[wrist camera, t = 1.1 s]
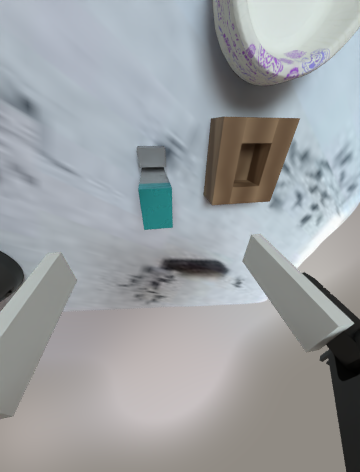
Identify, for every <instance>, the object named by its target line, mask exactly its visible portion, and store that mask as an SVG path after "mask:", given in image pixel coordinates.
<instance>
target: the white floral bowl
mask: <svg viewBox="0 0 360 472" xmlns="http://www.w3.org/2000/svg"><path fill="white" fill-rule="evenodd" d="M213 13H214V23H215V31H216V34H217V38H218V41H219V45H220V48H221V51H222V53H223V54H224V56H225V58H226V60H227V62H228V63H229V65H230V67H231V68H232V70H233V71H234V72H235V73H236V74H237V75H239V76H240V78H241V79H243V80H244V81H246V82H248V83H250V84H253V85H257V86H268V85H273V84H279V83H282V82H285V81H289V80H292V79H294V78H298V77H301V76H304V75H306V74H309V73H311V72H312V71H314V70H316V69H317V68H319V67H320V66H322V65H323V64H324V63H326V62H327V61H328V60H330V59H331V58H332V57H333V56H334V55H335V54H336V53H337V52H338V51H339V50H340V49H341V48H342V47H343V46H344V45H345V44H346V43H347V42H348V41H349V40H350V38H351V37H352V36H353V35H354V34H355V32H356V31H357V30H358V28H359V27H360V0H213Z"/></svg>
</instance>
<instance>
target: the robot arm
mask: <svg viewBox="0 0 360 472" xmlns="http://www.w3.org/2000/svg"><path fill="white" fill-rule="evenodd" d="M243 263H244V264H245V266H246V267H247V269H248V270H249V271H250V273H251V274H252V276H253V277H254V279H255V280H256V281H257V283H258V284H259V286H260V287H261V289H262V290H263V291H264V293H265V294H266V296H267V297H268V299H269V300H270V301H271V303H272V304H273V306H274V307H275V309H276V310H277V311H278V313H279V314H280V316H281V317H282V319H283V320H284V321H285V323H286V324H287V326H288V327H289V329H290V330H291V331H292V333H293V334H294V336H295V337H296V338H297V340H298V341H299V343H300V344H301V346H302V347H303V349H304V350H305V351H306V352H310V351H315V350H319V349H321V348H322V347H323V346H325V345H327V346H328V348H329V350H328V351H326V352H325V353H324V354H322V355H321V356H320V361H322V362H323V361H324V360H326V359H327V358H328V359H329V360H328V361H327V363H326V364H328V365H330V371H331V378H332V384H333V390H334V396H335V403H336V409H337V416H338V422H339V428H340V434H341V441H342V447H343V454H344V460H345V466H346V472H360V319H358V318H357V317H356V316H355V315H354V314H353V313H352V312H351V311H350V310H349V309H347V308H346V307H345V306H344V305H343V304H342V303H341V302H340V301H339V300H338V299H337V298H336V297H334V296H333V295H331V294H330V292H329V291H328V290H326V288H323V286H322V285H321V284H320V283H319V282H318V281H317V280H316V279H315V278H313V277H311V276H310V275H308V274H306V273H301V272H300V271H299V270H298V269H297V268H296V267H295V266H294V265H293V264H292V263H291V262H290V261H288V260H287V259H286V258H285V257H284V256H283V255H282V254H281V253H280V252H279V251H278V250H277V249H276V248H275V247H274V246H273V245H272V244H271V243H270V242H269V241H267V240H266V239H265V238H264V237H263V236H262V235H261V234H254V235H251V237H250V240H249V243H248V246H247V249H246V252H245V255H244V258H243ZM22 281H23V272H22V270H21V268H20V267H19V266H18V264H17V263H16V262H15V261H13V260H12V259H11V258H10V257H8V256H7V255H5V254H3V253H2V252H0V302H1V301H2V300H4V299H5V298H6V297H8V296H9V295H11V294H12V293H13V292H14V291H15V290H16V289H17V288H18V286H19V285H20V284H21V283H22ZM76 282H77V279H76V277H75V276H74V274H73V272H72V270H71V269H70V267H69V265H68V263H67V262H66V260H65V258H64V256H63V255H62V253H61V252H57V253H48V254H47V255H46V256H45V257H44V259H43V260H42V261H41V262H40V264H39V265H38V266H37V267H36V269H35V270H34V271H33V272H32V273H31V275H30V276H29V277H28V278H27V280H26V281H25V282H24V283H23V285H22V286H21V287H20V288H19V290H18V291H17V292H16V293H15V295H14V296H13V297H12V298H11V299H10V301H9V302H8V303H7V304H6V306H5V307H4V308H3V309H2V311H1V312H0V419H2V418H7V417H12V416H14V414H15V411H16V409H17V407H18V405H19V402H20V401H21V399H22V396H23V394H24V392H25V390H26V388H27V386H28V384H29V382H30V380H31V377H32V375H33V373H34V371H35V369H36V367H37V365H38V363H39V361H40V358H41V356H42V354H43V351H44V350H45V348H46V346H47V343H48V341H49V339H50V337H51V335H52V333H53V331H54V329H55V326H56V324H57V322H58V320H59V318H60V316H61V314H62V312H63V310H64V307H65V305H66V303H67V301H68V299H69V297H70V295H71V293H72V290H73V288H74V286H75V284H76Z"/></svg>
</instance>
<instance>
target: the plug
mask: <svg viewBox="0 0 360 472" xmlns="http://www.w3.org/2000/svg"><path fill="white" fill-rule="evenodd" d="M138 191H139V197H140V204H141V211H142V218H143V224H144V230H148V229H161V228H173V224H172V187H171V185H170V182H169V180H168V177H167V175H166V172H165V170H164V167H142V168H141V175H140V182H139V188H138Z"/></svg>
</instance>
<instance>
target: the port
mask: <svg viewBox="0 0 360 472" xmlns="http://www.w3.org/2000/svg"><path fill="white" fill-rule="evenodd" d="M299 120H300V118H257V117H219V118H212V119H211V125H210V135H209V145H208V155H207V165H206V176H205V186H204V196H205V197H206V198H207V200H208V201H209V202H210V203H211V204H212V205H221V204H237V203H252V202H268V201H270V200H271V197H272V194H273V191H274V189H275V186H276V183H277V180H278V178H279V175H280V172H281V169H282V167H283V164H284V161H285V158H286V156H287V153H288V150H289V147H290V144H291V142H292V139H293V136H294V133H295V131H296V128H297V125H298V122H299Z"/></svg>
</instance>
